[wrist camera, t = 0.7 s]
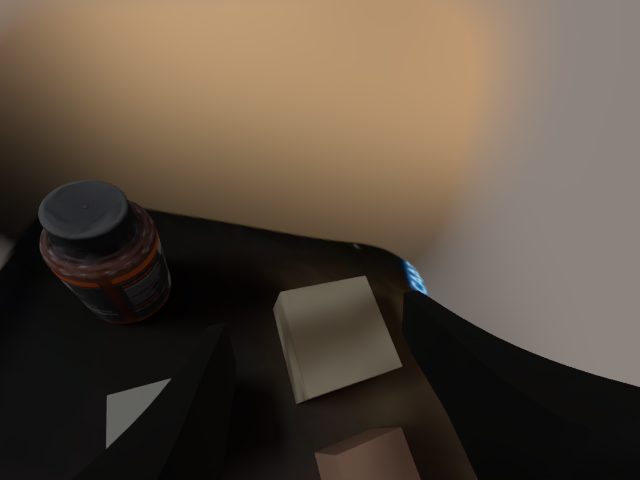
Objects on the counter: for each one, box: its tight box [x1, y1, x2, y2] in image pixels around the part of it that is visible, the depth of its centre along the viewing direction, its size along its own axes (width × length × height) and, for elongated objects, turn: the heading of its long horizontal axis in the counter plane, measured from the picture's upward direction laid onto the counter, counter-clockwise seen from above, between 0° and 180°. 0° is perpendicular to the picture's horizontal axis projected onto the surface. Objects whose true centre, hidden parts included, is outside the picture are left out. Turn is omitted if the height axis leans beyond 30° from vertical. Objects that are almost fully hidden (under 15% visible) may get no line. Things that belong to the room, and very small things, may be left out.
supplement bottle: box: [38, 180, 171, 324], centre depth 21 cm, size 6×6×11 cm
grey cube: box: [106, 379, 170, 449], centre depth 19 cm, size 5×5×5 cm
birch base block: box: [273, 276, 402, 404], centre depth 26 cm, size 8×8×4 cm
